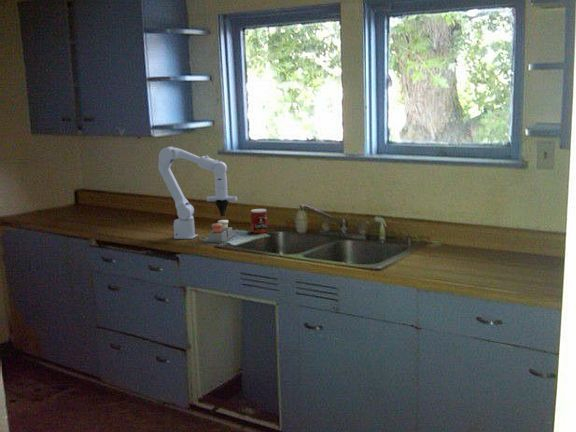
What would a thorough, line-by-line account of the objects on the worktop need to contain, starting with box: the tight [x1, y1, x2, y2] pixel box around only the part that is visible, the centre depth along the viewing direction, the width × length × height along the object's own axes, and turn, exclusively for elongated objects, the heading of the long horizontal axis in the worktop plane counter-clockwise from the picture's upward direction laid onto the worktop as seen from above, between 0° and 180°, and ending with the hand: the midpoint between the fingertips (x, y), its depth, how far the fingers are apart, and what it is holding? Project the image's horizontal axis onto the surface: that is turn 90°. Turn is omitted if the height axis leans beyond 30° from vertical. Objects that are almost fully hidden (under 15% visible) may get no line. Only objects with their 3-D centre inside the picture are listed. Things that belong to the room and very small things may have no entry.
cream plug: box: [217, 219, 229, 230], centre depth 320 cm, size 5×5×4 cm
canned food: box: [250, 208, 268, 234], centre depth 326 cm, size 8×8×11 cm
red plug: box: [211, 222, 222, 234], centre depth 311 cm, size 5×5×4 cm
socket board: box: [204, 227, 237, 243], centre depth 316 cm, size 10×16×4 cm, turn 166°
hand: (222, 215), depth 319 cm, fingers closed
